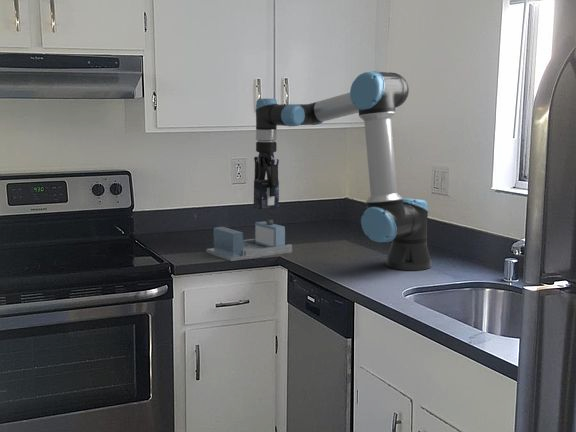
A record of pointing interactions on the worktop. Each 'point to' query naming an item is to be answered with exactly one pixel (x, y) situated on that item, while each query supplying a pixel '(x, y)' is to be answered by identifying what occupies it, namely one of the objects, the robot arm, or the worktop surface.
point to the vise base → (253, 251)
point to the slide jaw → (269, 234)
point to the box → (264, 195)
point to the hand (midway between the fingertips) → (266, 203)
